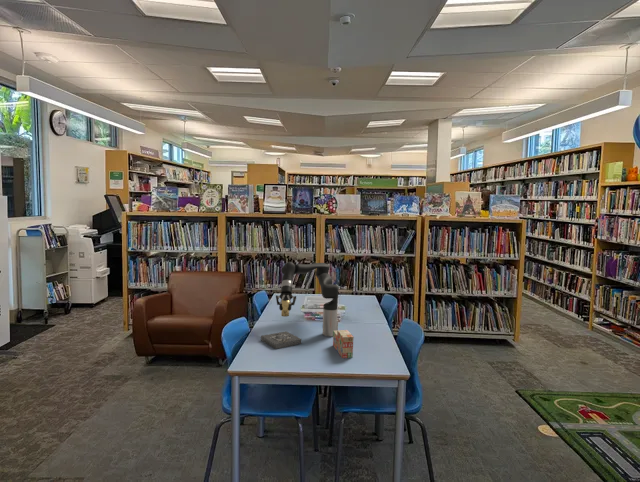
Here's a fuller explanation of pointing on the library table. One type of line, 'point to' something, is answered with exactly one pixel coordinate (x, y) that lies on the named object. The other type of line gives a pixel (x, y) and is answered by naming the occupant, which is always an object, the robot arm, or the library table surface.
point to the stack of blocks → (343, 343)
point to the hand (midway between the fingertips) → (285, 309)
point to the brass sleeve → (285, 308)
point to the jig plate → (281, 340)
